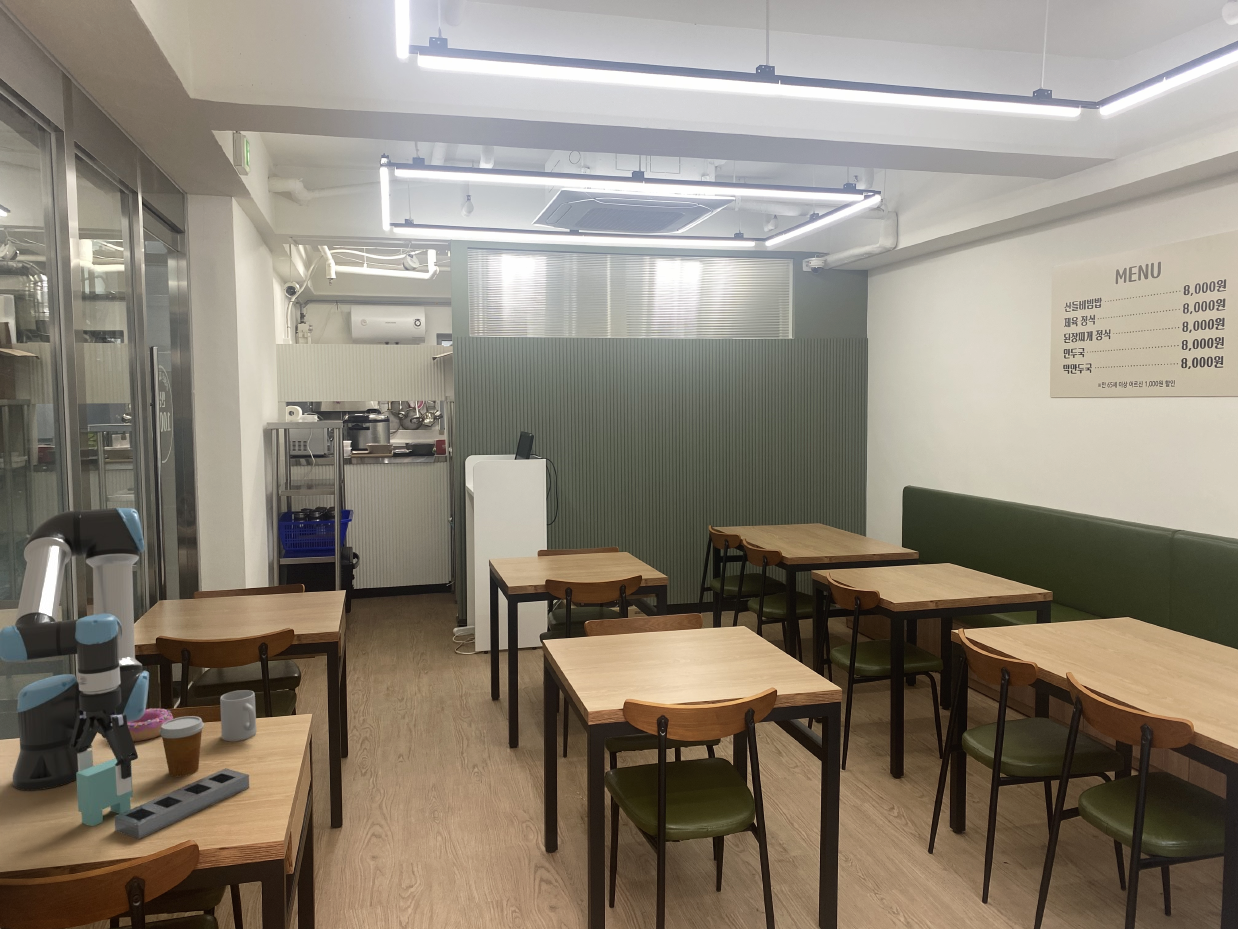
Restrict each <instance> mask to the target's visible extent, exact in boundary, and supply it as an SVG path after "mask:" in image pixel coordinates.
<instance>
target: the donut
mask: <svg viewBox="0 0 1238 929" xmlns="http://www.w3.org/2000/svg"><path fill="white" fill-rule="evenodd" d="M171 712H172V711H171V710H168V709H165V708H156V707H155V708H154V707H153V708H145V713H144V715H143V716H142V717H141V718H140V719H138V720H135V721H130V722H127V725H128V728H129V731H130V734H131V737H132V740H133V743H134V742H140V741H141V742H142V741H146V740H152V739H154V738H157V737H160V736H161V734H160V733H159V731H160V729H161V726H162V724H163V723H165V722H167V721H169V720H172V719H174V716H173V714H172V713H171Z"/></svg>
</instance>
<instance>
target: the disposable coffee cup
mask: <svg viewBox="0 0 1238 929" xmlns="http://www.w3.org/2000/svg"><path fill="white" fill-rule="evenodd" d="M204 726H205V723H204V722H203V719H202V718H201V717H199V716H195V715H192V716H189V715H187V716H180V717H175V718H173V719H172V720H169V721H167V722H165V723H163V724H162V726H161V729H160V731H159V733H160V734H161V735H160V736H161V738H162V743H163V748H164V753H165V759H166V764H167V768H168V769H167V770H168V774H169V776H170V777H175V778H178V777H185V776H189V775H193V774H194V773H196V772H197V771H198V770H199V768H200V767H199V766H200V756H201V755H200V754H201V745H202V735H203V734H202V733H203V732H202V731H203V729H204Z"/></svg>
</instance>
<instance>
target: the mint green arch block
mask: <svg viewBox="0 0 1238 929" xmlns="http://www.w3.org/2000/svg"><path fill="white" fill-rule="evenodd" d="M116 763H117V760H116V758H115V757H114V758H112V759H110V760H109V759H108V760H107V761H104V762H100V763H98V764H96V765H93V767H90V768H88V769H85V770H82V771H80V772H77V773H76V777H77V779H76V790H77V791H76V794H77V808H78V809H77V810H78V812H80V813H81V823H82V824H85V825H87V826H90V827H94V826H97V825H99V824H101V823H103V822H104V820H103V810H106V809H108V808H110V812H114V813H117V814H118V815H119V814H121V813H124V812H126V811H128V810H131V809H132V808H131V799H132V798H134V795H133V794H134V793H133V792H134V790H133V788H132V791H129V792H127V793H124V794H122V795H117V788H116V769H115V764H116ZM132 771H133V770H132V768H131V785H132V786H133V775H132V774H133V773H132Z"/></svg>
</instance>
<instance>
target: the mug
mask: <svg viewBox="0 0 1238 929" xmlns="http://www.w3.org/2000/svg"><path fill="white" fill-rule="evenodd" d="M255 696H256V695H255V692H254V691H253V690H248V689H243V690H241V689H240V690H233V691H229V692H227V693H224V694H222V695H220V700H219V702H220V721H221V722H220V724H221V726H220V727H221V730H220V731H221V732H220V733H221V739H222V740H223V741H225V742H239V741H240V742H241V741H244V740H247V739H250V738H252V737H254V736H255V735H256V734H257V714H256V697H255Z"/></svg>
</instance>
